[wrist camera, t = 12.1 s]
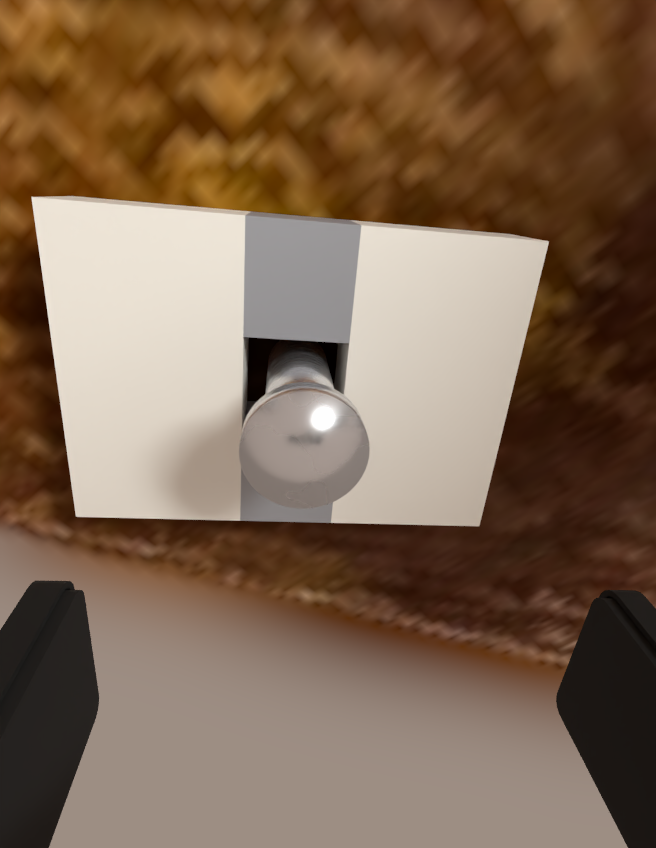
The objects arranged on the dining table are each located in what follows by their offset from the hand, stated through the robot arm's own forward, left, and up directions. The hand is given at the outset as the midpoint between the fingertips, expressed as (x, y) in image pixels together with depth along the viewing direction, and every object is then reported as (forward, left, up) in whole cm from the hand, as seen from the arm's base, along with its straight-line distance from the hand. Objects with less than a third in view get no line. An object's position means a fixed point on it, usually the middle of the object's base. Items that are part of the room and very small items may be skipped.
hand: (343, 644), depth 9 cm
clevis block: (0, -1, -18) cm, 18 cm away
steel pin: (0, 0, -18) cm, 18 cm away
